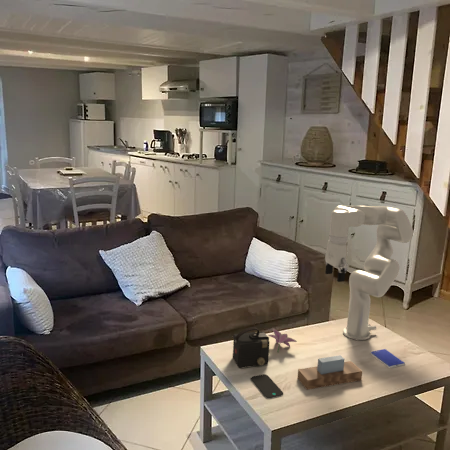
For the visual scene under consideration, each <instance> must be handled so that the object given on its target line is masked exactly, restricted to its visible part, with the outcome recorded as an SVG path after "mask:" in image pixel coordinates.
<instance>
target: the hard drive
mask: <svg viewBox="0 0 450 450" xmlns="http://www.w3.org/2000/svg"><path fill="white" fill-rule="evenodd" d="M370 355H371V356H373V357H374V358H375V359H377V360H379V361H380V362H381V363H382V364H384V366H386V367H388V368H389V369H390V368H395V367H400V366H405V365H406V362H404V360H401V359H400V358H398V357H397V356H396V355H394V354H393V353H392V352H390V351H389V350H387V349H386V348H383V349H378V350H373V351H370Z"/></svg>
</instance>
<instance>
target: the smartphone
mask: <svg viewBox="0 0 450 450" xmlns="http://www.w3.org/2000/svg"><path fill="white" fill-rule="evenodd" d="M250 381H251V382H252V384H253V385H254V386H255V387H256V388H257V390H258V391H259V392H260V393H261V394H262V396H263V397H264V398H265V399H267V400H270V399H275V398H280V397H283V396H284V392H283V390H282V389H281V388H280V387H279V386H278V385H277V384H276V383H275V382H274V381H273V380H272V378H271V377H270V376H269V375H267V373H266V374H265V373H264V374H259V375H254V376H251V377H250Z"/></svg>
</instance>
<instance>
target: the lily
mask: <svg viewBox="0 0 450 450" xmlns="http://www.w3.org/2000/svg"><path fill="white" fill-rule="evenodd" d="M272 332H273V334H268V335H267V336H268V337H269V338H270V337H271V338H273V339H274V340H275V343H277V344H278V348H277V352H279V350H280V346H281V344H284V345H286V346H287V347H288V348H290V347H291V344H290V343H297V342H298V341H297V340H295V339H294V338H292V337H289V336H288V334H287V333H281V332H280V330H279V331H278V330H277V329H275V328H272Z"/></svg>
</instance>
